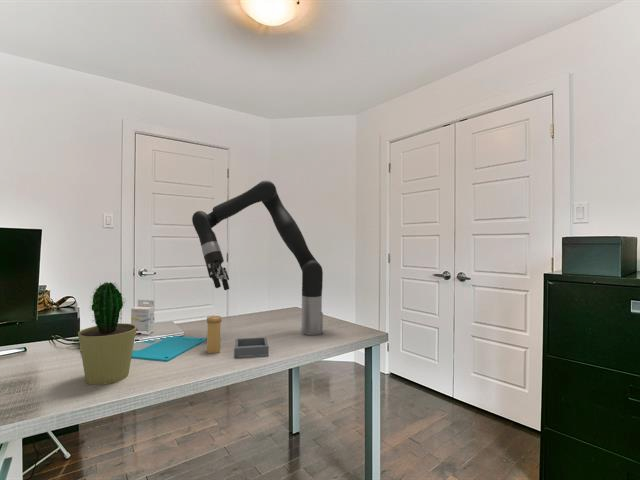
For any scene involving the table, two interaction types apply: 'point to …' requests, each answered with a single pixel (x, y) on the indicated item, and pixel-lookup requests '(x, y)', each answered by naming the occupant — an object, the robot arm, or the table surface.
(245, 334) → the table surface
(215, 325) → the tan capped post
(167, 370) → the table surface
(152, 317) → the ink cartridge box
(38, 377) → the table surface
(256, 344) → the housing
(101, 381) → the potted cactus
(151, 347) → the teal flat board
